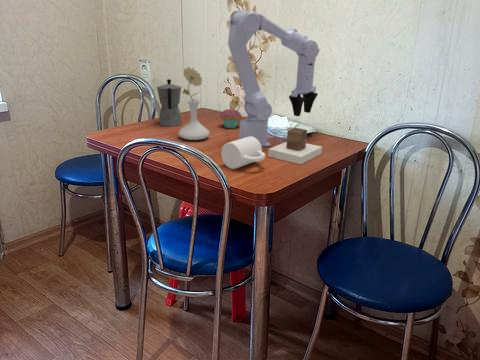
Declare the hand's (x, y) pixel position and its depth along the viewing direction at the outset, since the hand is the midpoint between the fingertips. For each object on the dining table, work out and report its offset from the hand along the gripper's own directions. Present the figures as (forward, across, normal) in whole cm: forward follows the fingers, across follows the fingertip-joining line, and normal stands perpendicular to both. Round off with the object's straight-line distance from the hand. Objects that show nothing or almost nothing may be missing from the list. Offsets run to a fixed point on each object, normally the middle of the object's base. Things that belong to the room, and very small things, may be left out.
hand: (302, 114), depth 153 cm
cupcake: (+10, -3, +30) cm, 32 cm away
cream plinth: (+9, -18, -8) cm, 22 cm away
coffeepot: (+10, -17, +50) cm, 54 cm away
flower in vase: (+10, -25, +31) cm, 41 cm away
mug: (+10, -37, -2) cm, 38 cm away
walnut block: (+7, -18, -8) cm, 21 cm away
